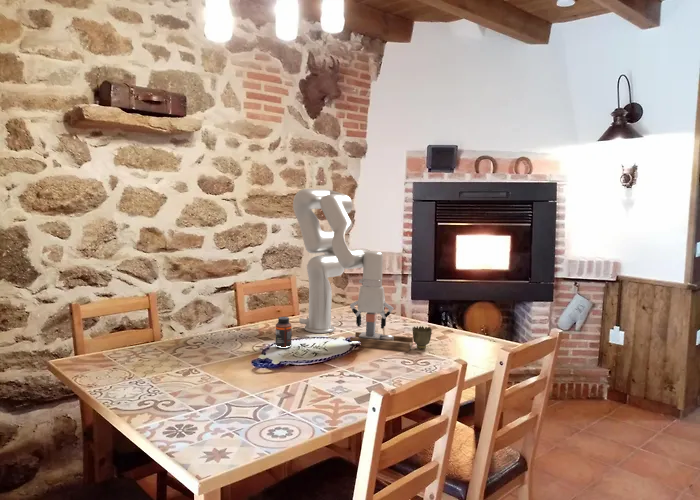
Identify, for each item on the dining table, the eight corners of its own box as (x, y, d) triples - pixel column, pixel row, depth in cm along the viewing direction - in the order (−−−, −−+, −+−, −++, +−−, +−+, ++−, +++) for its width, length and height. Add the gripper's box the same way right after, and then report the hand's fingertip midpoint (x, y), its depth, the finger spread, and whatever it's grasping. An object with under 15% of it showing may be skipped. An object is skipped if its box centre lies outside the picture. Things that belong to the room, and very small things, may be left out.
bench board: (349, 345, 216) (349, 338, 216) (356, 338, 226) (356, 331, 225) (408, 351, 210) (409, 343, 210) (412, 344, 220) (413, 337, 220)
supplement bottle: (292, 345, 213) (293, 316, 212) (289, 350, 207) (290, 320, 206) (277, 344, 214) (277, 315, 213) (273, 349, 208) (274, 319, 207)
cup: (432, 351, 210) (433, 331, 209) (412, 351, 211) (413, 330, 210) (429, 346, 218) (430, 326, 217) (410, 345, 218) (411, 325, 217)
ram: (358, 340, 217) (359, 314, 216) (362, 336, 223) (363, 310, 222) (391, 344, 214) (392, 317, 213) (394, 340, 220) (395, 313, 218)
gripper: (348, 283, 215) (346, 327, 217) (392, 286, 211) (391, 331, 213) (353, 280, 222) (351, 322, 224) (396, 283, 218) (394, 326, 220)
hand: (370, 326), depth 218 cm, fingers open, 9 cm apart
